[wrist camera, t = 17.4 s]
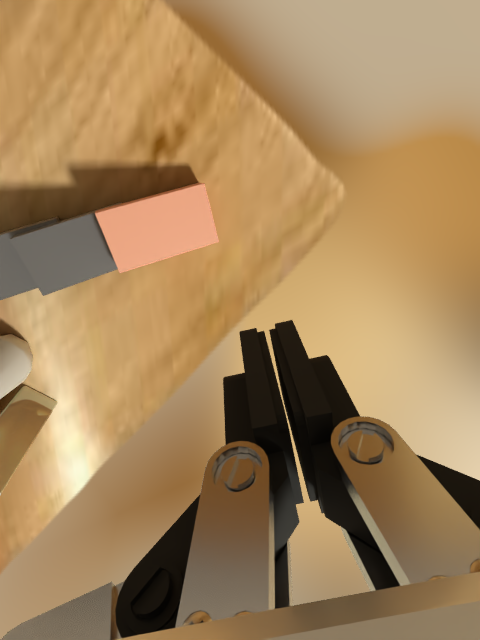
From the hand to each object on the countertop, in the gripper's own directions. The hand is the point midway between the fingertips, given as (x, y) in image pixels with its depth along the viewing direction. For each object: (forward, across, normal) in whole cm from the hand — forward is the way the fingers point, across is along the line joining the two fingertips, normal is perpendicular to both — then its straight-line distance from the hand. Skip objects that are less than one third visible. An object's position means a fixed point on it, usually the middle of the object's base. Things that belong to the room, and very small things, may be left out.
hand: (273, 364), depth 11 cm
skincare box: (+24, +29, +16) cm, 41 cm away
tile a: (+22, +9, -1) cm, 24 cm away
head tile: (+22, +2, -1) cm, 22 cm away
